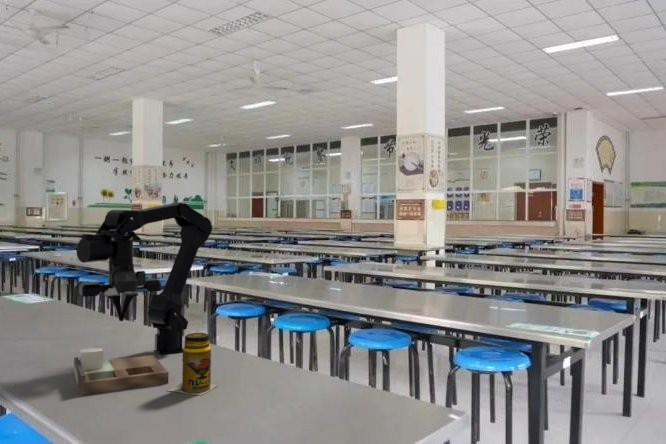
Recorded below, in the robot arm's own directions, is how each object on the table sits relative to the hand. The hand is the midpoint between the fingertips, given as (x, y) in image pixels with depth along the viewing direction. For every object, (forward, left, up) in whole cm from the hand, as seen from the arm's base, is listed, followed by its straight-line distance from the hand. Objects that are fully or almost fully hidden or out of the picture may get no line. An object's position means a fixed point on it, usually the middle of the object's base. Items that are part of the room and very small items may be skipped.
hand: (121, 320), depth 138 cm
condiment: (-11, +27, -11) cm, 31 cm away
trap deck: (+2, +13, -11) cm, 17 cm away
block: (+8, +9, -8) cm, 15 cm away
